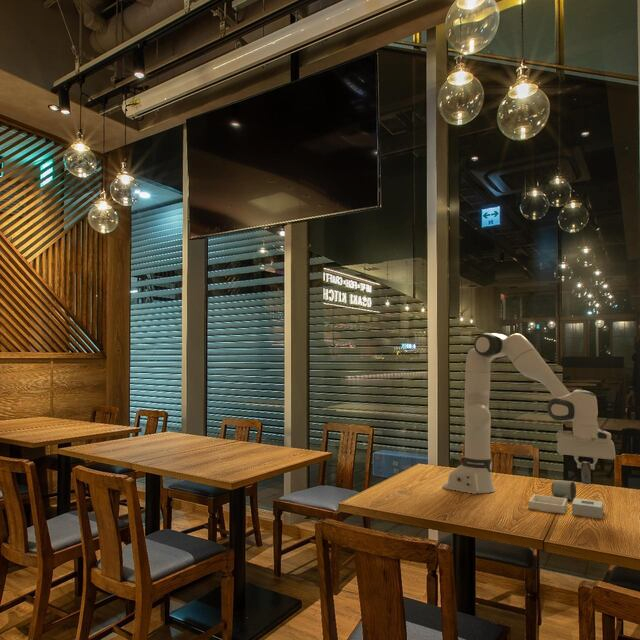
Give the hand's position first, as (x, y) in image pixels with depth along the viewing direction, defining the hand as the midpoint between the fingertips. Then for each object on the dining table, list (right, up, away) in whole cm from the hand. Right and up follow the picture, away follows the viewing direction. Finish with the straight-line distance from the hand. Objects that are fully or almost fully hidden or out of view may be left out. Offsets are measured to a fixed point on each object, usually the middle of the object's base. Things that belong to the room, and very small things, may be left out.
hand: (585, 468), depth 200 cm
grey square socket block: (0, -17, -1) cm, 17 cm away
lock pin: (0, -6, 0) cm, 6 cm away
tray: (-12, -17, +6) cm, 22 cm away
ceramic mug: (0, -19, +19) cm, 27 cm away
